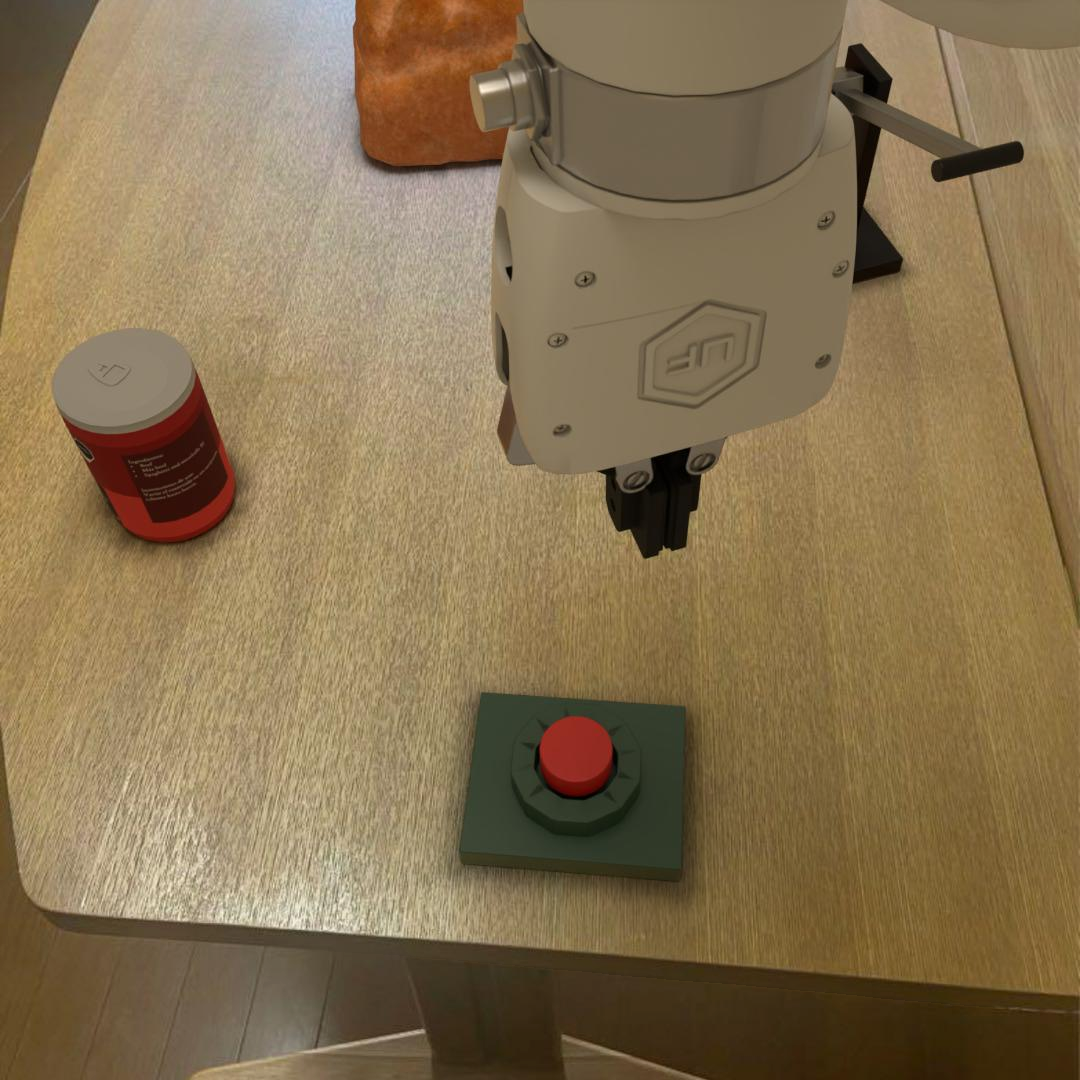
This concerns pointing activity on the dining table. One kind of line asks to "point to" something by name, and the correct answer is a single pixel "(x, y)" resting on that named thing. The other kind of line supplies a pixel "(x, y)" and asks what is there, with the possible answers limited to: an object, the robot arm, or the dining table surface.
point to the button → (576, 756)
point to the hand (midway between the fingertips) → (650, 523)
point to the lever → (923, 133)
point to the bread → (428, 76)
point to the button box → (576, 821)
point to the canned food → (146, 432)
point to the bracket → (869, 172)
